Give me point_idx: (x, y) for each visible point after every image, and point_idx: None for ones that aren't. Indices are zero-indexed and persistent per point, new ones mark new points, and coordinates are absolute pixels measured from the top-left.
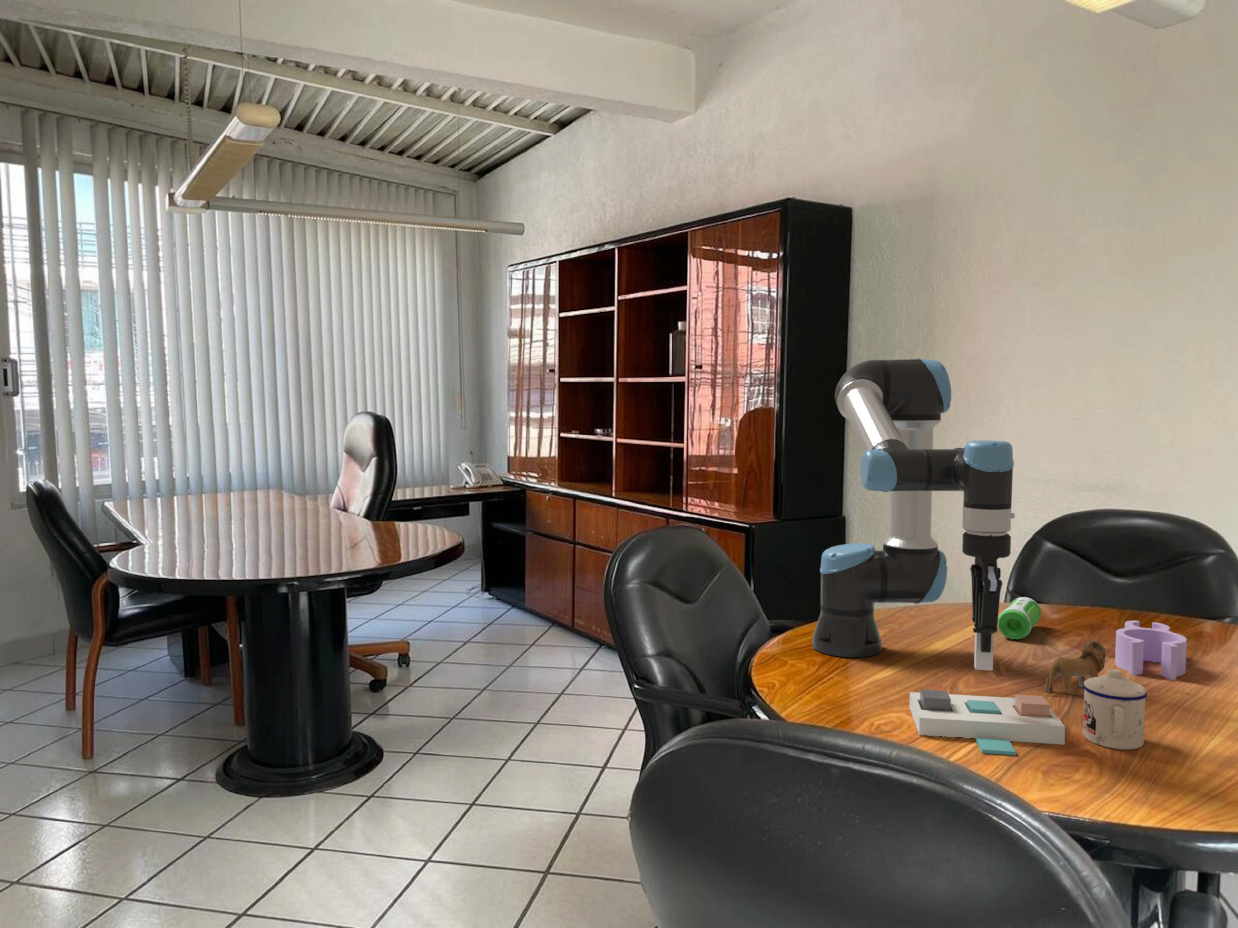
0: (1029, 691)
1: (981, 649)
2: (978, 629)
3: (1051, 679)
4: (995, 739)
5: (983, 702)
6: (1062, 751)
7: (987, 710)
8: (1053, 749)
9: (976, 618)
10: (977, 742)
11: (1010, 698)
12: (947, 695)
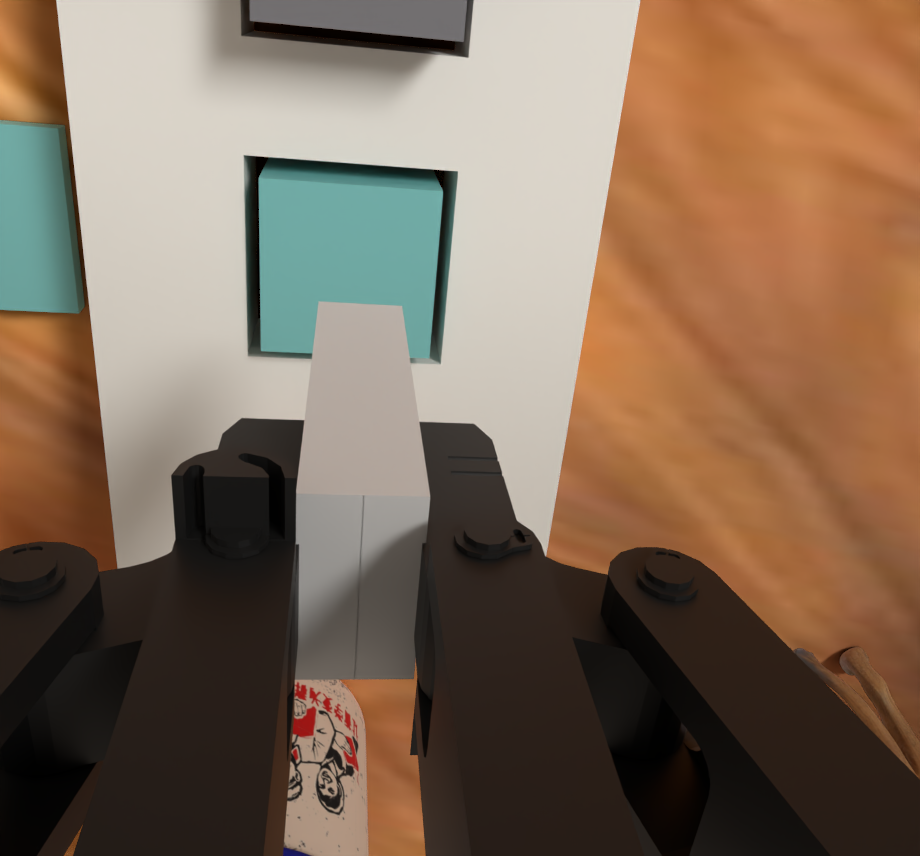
0: (855, 583)
1: (255, 430)
2: (203, 535)
3: (852, 705)
4: (60, 240)
5: (400, 289)
6: (46, 524)
7: (261, 277)
8: (61, 494)
9: (437, 628)
10: (7, 122)
11: (547, 466)
12: (345, 17)
